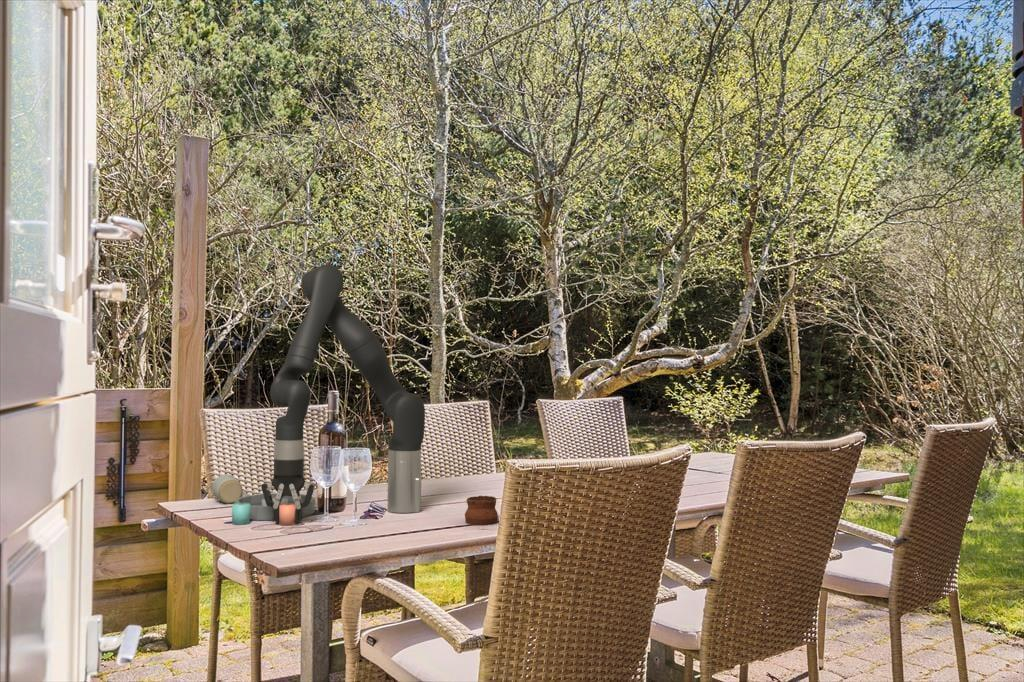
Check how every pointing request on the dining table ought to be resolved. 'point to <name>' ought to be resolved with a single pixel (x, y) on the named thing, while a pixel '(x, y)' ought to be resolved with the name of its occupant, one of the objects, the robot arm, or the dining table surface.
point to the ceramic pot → (481, 511)
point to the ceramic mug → (227, 489)
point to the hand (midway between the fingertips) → (287, 522)
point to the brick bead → (287, 514)
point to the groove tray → (266, 512)
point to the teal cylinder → (241, 513)
